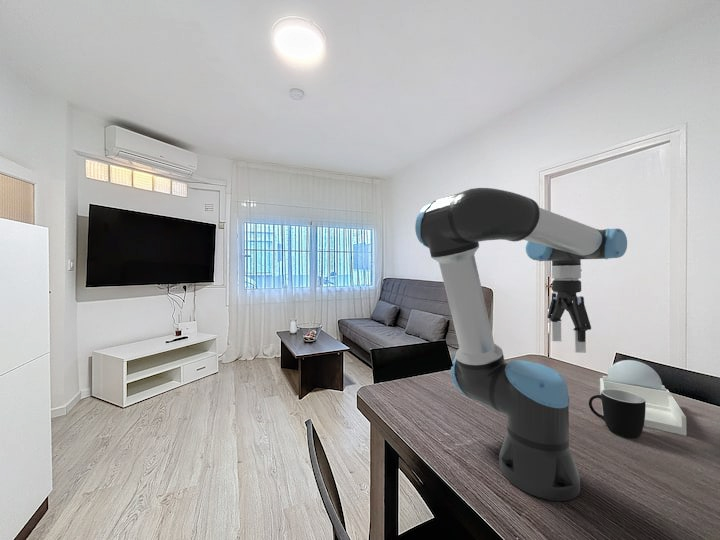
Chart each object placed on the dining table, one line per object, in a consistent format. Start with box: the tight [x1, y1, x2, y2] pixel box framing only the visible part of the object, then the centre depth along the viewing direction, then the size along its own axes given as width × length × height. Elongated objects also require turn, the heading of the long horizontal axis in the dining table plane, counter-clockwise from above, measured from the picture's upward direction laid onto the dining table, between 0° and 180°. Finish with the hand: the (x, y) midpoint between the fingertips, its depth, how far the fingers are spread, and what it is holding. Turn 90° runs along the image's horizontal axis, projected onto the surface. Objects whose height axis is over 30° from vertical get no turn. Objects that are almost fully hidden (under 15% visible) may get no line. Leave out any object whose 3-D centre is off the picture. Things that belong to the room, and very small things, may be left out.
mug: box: [588, 389, 646, 440], centre depth 80 cm, size 12×9×10 cm
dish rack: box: [599, 375, 687, 437], centre depth 91 cm, size 22×17×6 cm
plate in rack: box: [607, 359, 663, 390], centre depth 96 cm, size 1×13×13 cm, turn 52°
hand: (567, 346), depth 92 cm, fingers open, 13 cm apart
